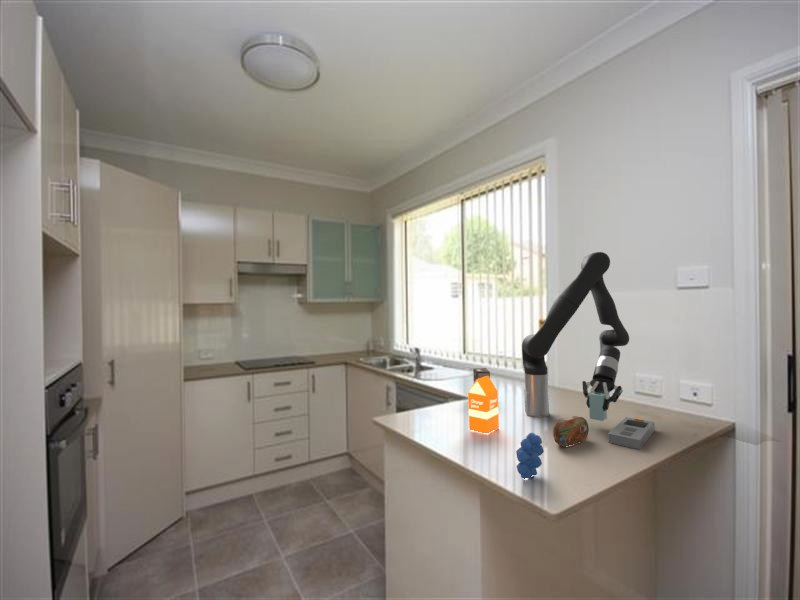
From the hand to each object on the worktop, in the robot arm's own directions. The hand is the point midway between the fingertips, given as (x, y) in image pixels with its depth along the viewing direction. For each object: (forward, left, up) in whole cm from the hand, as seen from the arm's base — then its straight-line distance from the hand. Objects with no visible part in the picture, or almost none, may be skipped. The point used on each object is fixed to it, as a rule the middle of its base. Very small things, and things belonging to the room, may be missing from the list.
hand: (596, 408), depth 134 cm
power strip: (+10, -6, -8) cm, 14 cm away
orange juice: (-41, -4, -8) cm, 42 cm away
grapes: (-31, -39, -8) cm, 50 cm away
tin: (-13, -14, -8) cm, 20 cm away
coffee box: (-40, +31, -8) cm, 51 cm away
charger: (+1, +2, -4) cm, 5 cm away
